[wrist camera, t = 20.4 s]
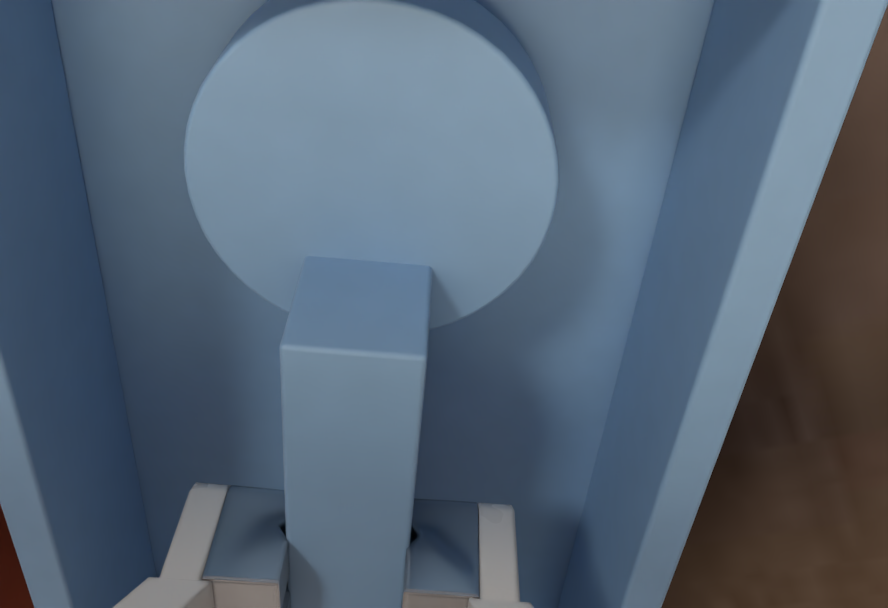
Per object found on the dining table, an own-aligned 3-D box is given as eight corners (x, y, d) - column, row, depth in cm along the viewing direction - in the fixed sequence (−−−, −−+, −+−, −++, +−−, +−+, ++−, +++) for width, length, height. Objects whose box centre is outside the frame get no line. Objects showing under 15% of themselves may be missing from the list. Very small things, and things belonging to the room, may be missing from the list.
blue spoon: (475, 587, 16) (477, 745, 14) (243, 571, 16) (205, 727, 14) (580, -14, 10) (617, 82, 7) (194, -51, 10) (101, 35, 7)
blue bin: (573, 623, 18) (593, 793, 16) (143, 595, 18) (83, 762, 15) (799, -182, 10) (942, -133, 7) (-29, -259, 9) (-247, -242, 6)
